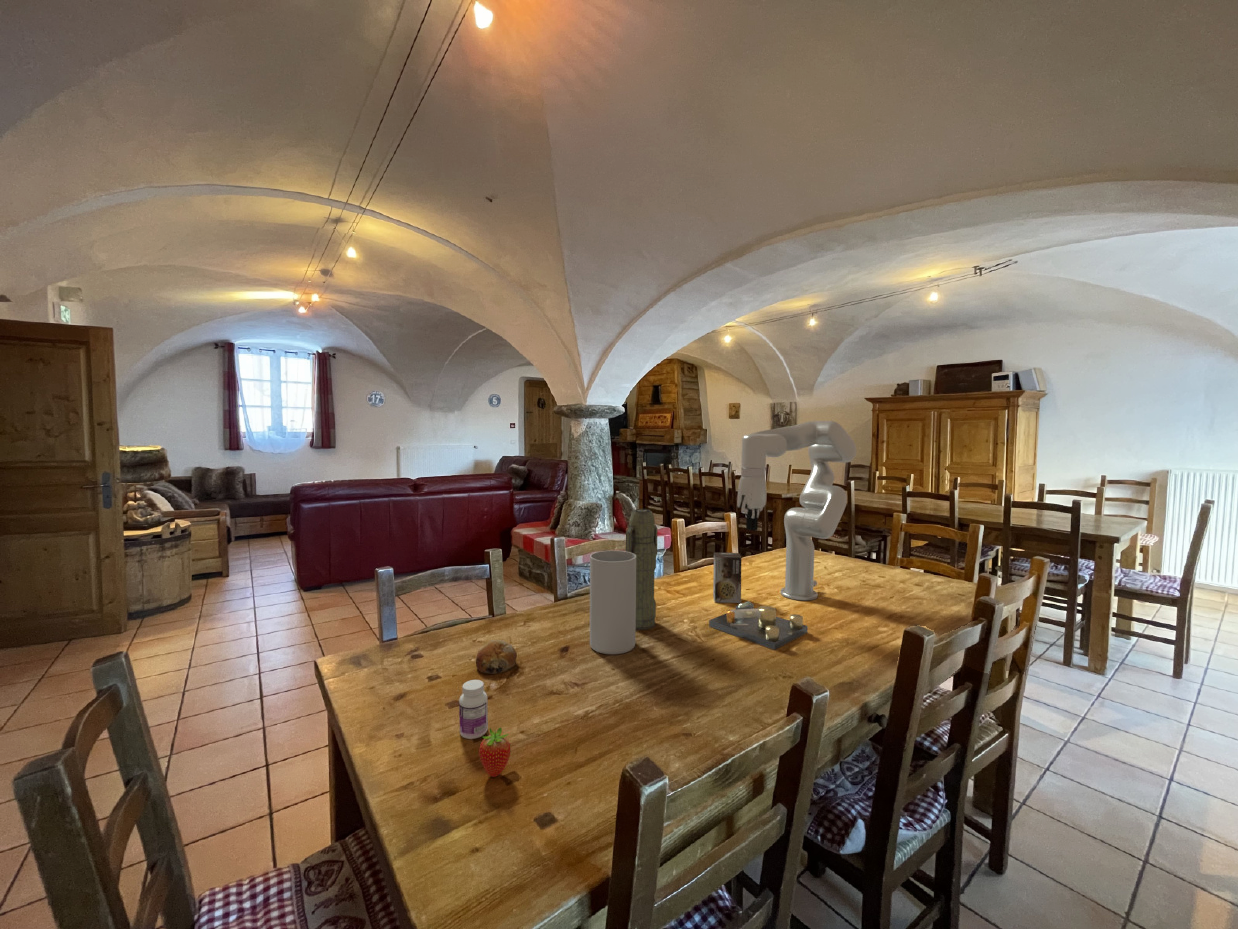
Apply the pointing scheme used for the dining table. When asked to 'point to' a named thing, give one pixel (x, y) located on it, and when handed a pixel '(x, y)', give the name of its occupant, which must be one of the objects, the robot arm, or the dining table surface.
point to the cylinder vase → (612, 601)
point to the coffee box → (727, 578)
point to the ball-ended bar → (754, 615)
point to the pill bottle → (473, 710)
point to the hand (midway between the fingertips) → (751, 529)
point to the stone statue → (643, 564)
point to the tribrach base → (752, 632)
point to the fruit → (494, 752)
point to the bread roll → (496, 657)
